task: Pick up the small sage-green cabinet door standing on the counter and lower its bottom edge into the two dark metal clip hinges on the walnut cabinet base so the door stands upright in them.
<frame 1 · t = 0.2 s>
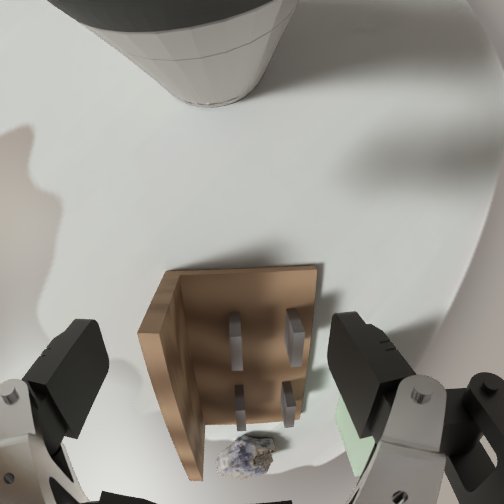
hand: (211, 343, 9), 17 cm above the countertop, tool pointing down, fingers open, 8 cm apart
mineral specimen: (240, 445, 38), on the countertop
hinge base: (261, 358, 31), on the countertop
cabinet door: (353, 382, 34), on the countertop
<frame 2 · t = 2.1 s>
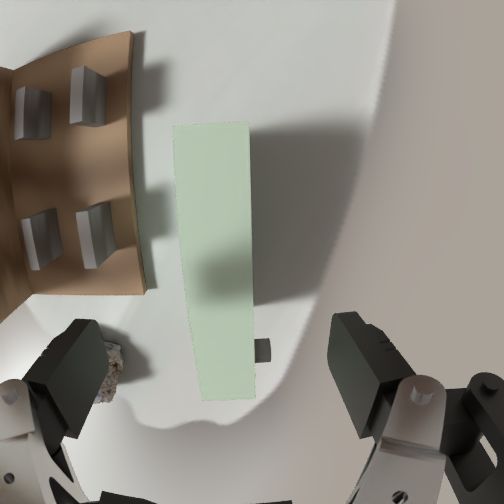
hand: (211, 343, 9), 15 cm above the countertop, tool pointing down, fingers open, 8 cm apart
mineral specimen: (87, 357, 27), on the countertop
hinge base: (78, 167, 21), on the countertop
cabinet door: (223, 229, 23), on the countertop
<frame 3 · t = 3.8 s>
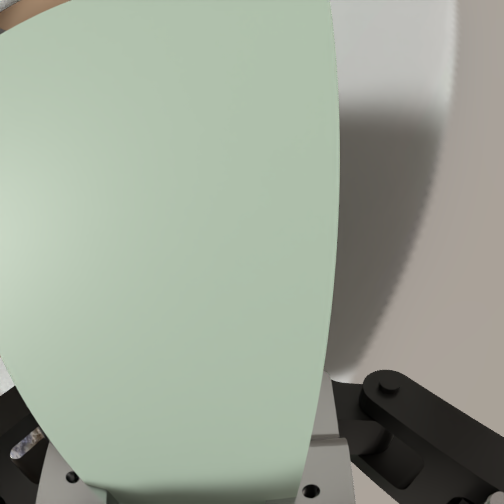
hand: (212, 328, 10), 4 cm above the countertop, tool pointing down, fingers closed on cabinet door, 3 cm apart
mineral specimen: (45, 423, 17), on the countertop
cabinet door: (217, 285, 14), on the countertop, touching gripper
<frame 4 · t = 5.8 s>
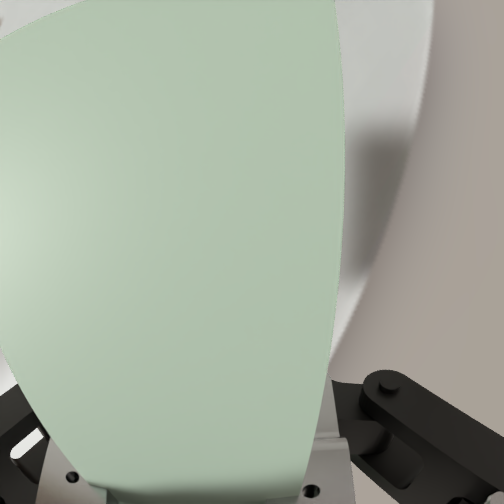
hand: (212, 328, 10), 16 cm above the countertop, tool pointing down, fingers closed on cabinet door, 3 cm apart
cabinet door: (218, 286, 14), point 13 cm above the countertop, touching gripper
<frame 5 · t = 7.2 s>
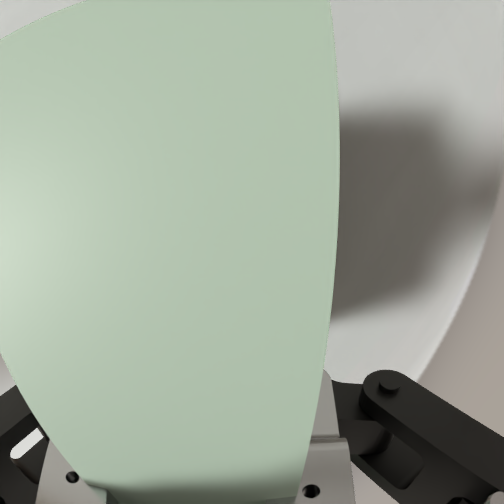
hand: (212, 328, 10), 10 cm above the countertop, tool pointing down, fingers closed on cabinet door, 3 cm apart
cabinet door: (217, 286, 14), point 6 cm above the countertop, touching gripper
when the fingers open (6 cm above the countertop, at t = 8.2 s): cabinet door drops 1 cm, resting on hinge base.
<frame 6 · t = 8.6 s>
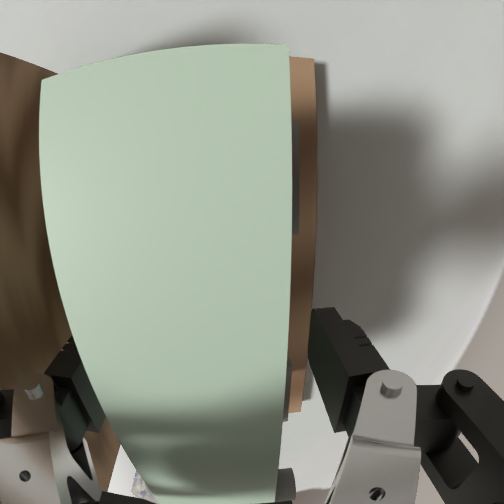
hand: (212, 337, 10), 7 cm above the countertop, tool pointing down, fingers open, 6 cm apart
mineral specimen: (172, 459, 22), on the countertop
hinge base: (218, 267, 16), on the countertop
cabinet door: (218, 274, 15), point 1 cm above the countertop, touching hinge base
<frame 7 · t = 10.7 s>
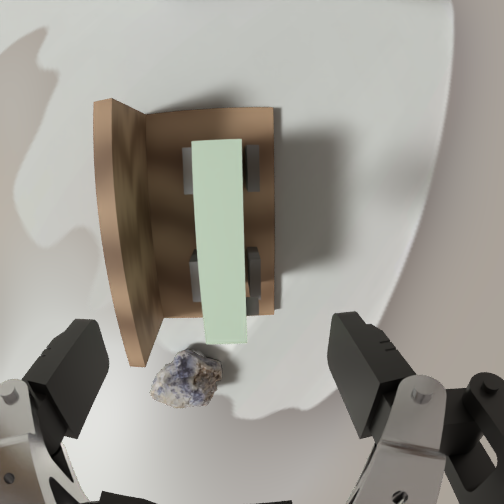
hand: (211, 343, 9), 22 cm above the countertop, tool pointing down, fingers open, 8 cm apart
mineral specimen: (182, 368, 36), on the countertop
hinge base: (224, 216, 30), on the countertop
cabinet door: (224, 218, 29), point 1 cm above the countertop, touching hinge base
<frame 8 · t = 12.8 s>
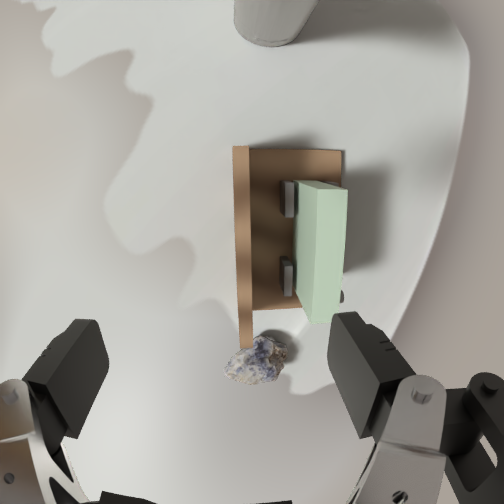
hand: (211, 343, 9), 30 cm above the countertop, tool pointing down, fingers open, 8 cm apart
mineral specimen: (252, 352, 46), on the countertop
hinge base: (302, 231, 40), on the countertop
cabinet door: (303, 233, 39), point 1 cm above the countertop, touching hinge base
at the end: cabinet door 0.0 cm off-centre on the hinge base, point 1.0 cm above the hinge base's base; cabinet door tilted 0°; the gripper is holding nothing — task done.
